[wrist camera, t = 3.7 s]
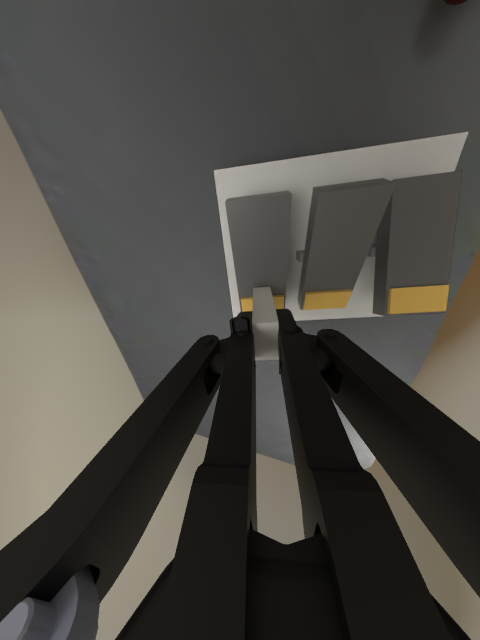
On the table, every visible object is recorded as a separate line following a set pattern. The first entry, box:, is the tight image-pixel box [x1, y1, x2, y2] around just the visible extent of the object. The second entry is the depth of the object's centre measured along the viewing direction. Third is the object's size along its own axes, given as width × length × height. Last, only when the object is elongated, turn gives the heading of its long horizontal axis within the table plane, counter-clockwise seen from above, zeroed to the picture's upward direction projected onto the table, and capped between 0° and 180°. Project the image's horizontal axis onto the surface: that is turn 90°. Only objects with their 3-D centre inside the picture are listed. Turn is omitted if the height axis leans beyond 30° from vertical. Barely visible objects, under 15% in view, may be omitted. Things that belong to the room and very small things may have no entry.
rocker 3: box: [372, 170, 463, 316], centre depth 14 cm, size 10×4×2 cm, turn 6°
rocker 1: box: [225, 190, 292, 312], centre depth 16 cm, size 10×4×2 cm, turn 5°
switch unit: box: [214, 132, 468, 321], centre depth 19 cm, size 15×19×7 cm
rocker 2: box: [297, 178, 396, 310], centre depth 15 cm, size 10×4×2 cm, turn 5°
